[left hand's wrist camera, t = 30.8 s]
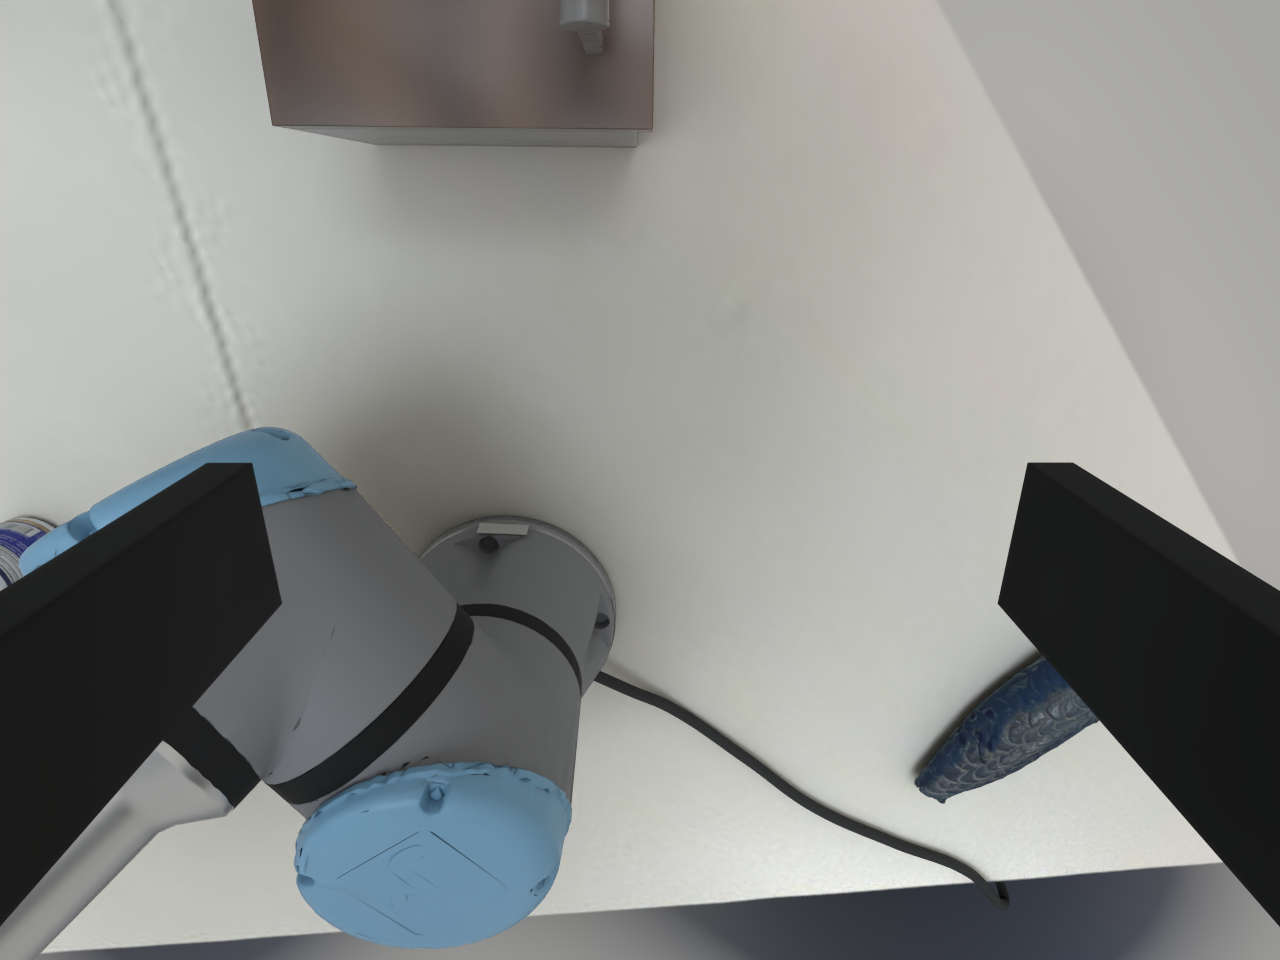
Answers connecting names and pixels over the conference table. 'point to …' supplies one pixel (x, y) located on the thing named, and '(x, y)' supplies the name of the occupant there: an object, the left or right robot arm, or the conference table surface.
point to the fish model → (1007, 732)
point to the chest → (482, 137)
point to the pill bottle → (17, 545)
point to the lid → (459, 64)
